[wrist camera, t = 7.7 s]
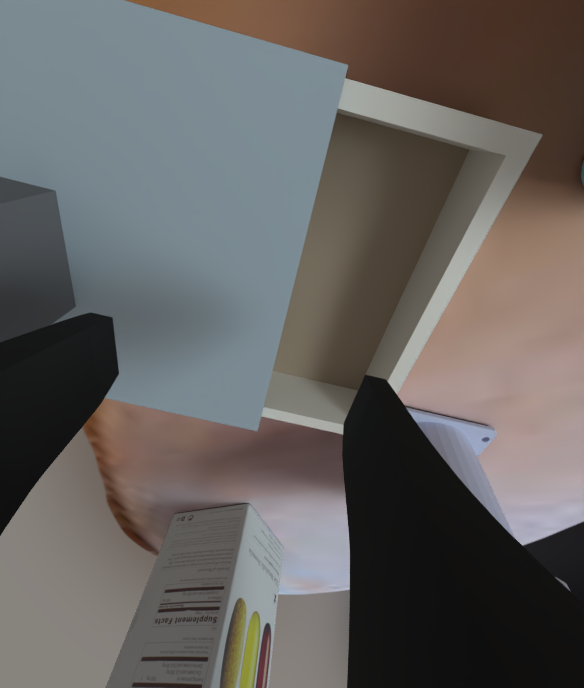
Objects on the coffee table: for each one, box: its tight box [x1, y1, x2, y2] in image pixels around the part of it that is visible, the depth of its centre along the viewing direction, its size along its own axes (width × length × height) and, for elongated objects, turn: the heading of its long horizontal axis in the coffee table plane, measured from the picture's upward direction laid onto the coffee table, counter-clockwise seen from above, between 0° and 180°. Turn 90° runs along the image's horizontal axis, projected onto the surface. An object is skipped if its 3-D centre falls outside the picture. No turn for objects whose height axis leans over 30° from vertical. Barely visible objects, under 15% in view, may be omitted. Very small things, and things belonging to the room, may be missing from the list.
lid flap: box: [0, 0, 348, 431], centre depth 12 cm, size 16×12×5 cm
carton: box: [261, 78, 543, 434], centre depth 17 cm, size 16×12×4 cm
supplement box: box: [106, 504, 283, 688], centre depth 28 cm, size 10×9×17 cm
